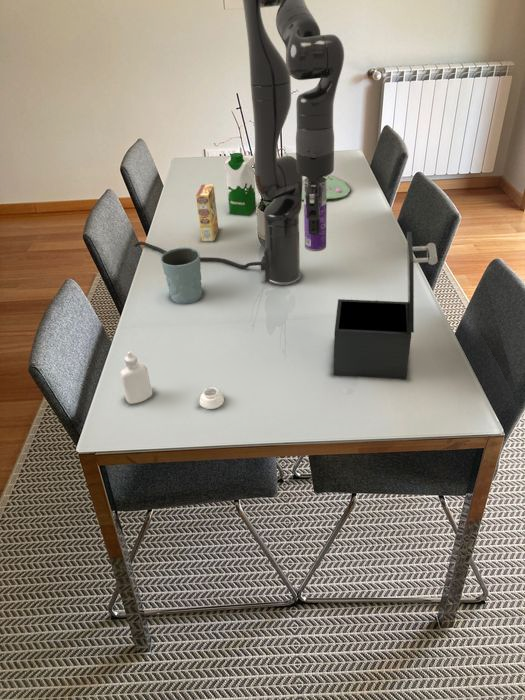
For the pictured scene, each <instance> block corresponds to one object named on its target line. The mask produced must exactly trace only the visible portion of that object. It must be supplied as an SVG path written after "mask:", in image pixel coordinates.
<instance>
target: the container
mask: <svg viewBox="0 0 525 700" xmlns="http://www.w3.org/2000/svg"><path fill="white" fill-rule="evenodd" d="M303 181H304V200H303V219H304V220H303V221H304V222H303V224H304V226H303V227H304V249H305V250H307V251H308V252H321V251H324V250H325V249H326V248H327V212H328V211H327V207H328V206H327V200H328V199H326V179H325V178H324V177H321V180H320V186H321V185H322V184H324V192H323V205H322V206H321V207H320V214H321V215H320V231H319V234H318V235H311V234H309V219H307V217H306V215H307V211H306V198H305V195H306V192H305V183H306V184H307V185H308V178H307V177H305V179H304V180H303ZM319 202H320V198H319ZM311 212H316V210H311Z"/></svg>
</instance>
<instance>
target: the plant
mask: <svg viewBox="0 0 525 700" xmlns="http://www.w3.org/2000/svg"><path fill="white" fill-rule="evenodd" d="M324 178H325V179H326V200H333V199H340V198H344V197H346V196H347V195H348V194H349V193H350V192H351V188H350V186H349V185H348V184H346V183H345V182H344V181H342V180H341V179H338V178H336V177H335V176H332V175H328V176H325V177H324ZM302 201H304V180H303V187H302Z"/></svg>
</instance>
